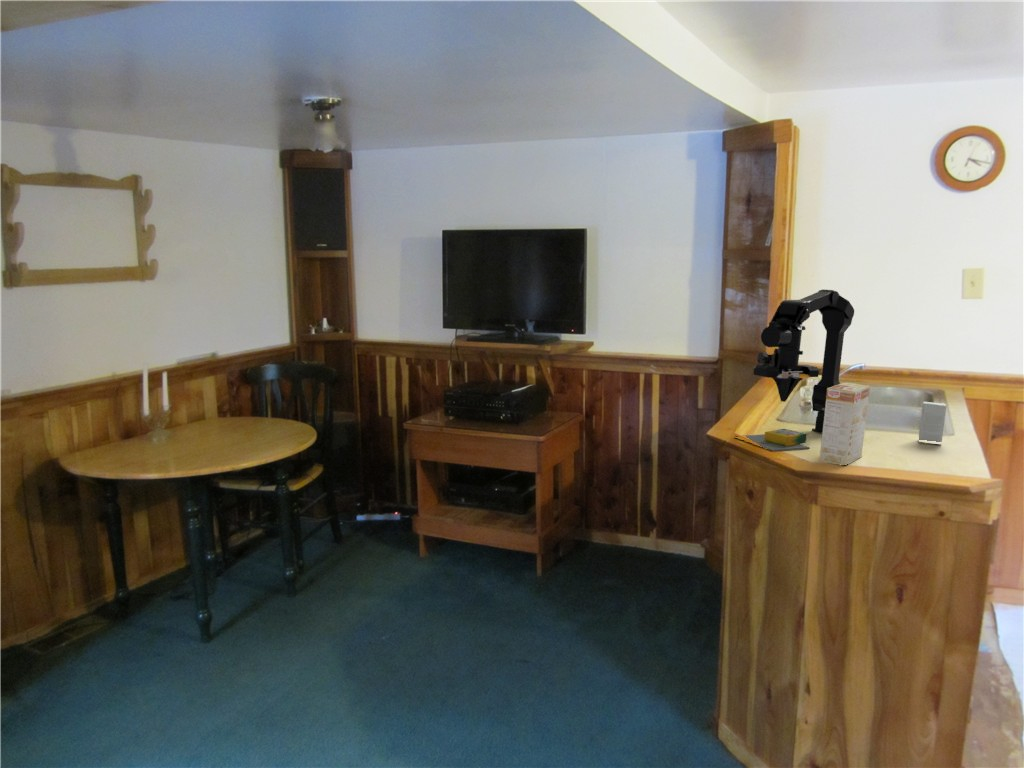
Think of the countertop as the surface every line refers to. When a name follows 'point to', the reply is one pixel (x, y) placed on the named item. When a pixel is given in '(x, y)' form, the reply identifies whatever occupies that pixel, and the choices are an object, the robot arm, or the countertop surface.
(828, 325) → the robot arm
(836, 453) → the coffeecake box
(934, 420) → the skincare box
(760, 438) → the mat
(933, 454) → the countertop surface
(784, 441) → the crayon box
